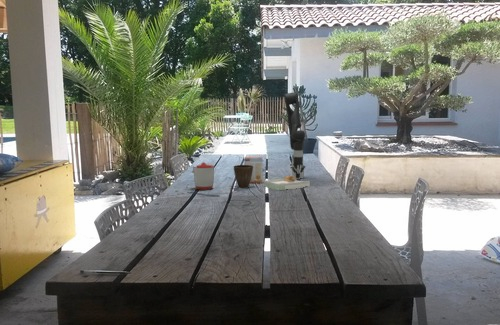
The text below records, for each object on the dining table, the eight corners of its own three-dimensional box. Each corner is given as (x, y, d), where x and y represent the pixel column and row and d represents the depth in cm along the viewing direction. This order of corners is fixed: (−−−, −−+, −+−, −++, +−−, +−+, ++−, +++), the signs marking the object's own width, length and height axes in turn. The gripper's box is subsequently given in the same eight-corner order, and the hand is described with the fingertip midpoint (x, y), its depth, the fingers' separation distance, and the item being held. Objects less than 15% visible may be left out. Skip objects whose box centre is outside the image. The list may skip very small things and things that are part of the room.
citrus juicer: (197, 186, 372) (196, 160, 370) (217, 187, 366) (217, 161, 364) (187, 189, 357) (187, 162, 355) (209, 191, 352) (208, 163, 349)
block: (291, 180, 378) (291, 175, 378) (294, 181, 374) (294, 176, 374) (284, 181, 375) (284, 176, 375) (288, 182, 371) (288, 176, 371)
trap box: (294, 183, 383) (294, 177, 383) (309, 187, 366) (309, 181, 366) (264, 186, 370) (264, 180, 369) (278, 190, 352) (278, 184, 352)
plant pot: (251, 189, 359) (251, 167, 357) (231, 188, 362) (231, 167, 360) (254, 185, 373) (254, 165, 371) (236, 185, 376) (236, 164, 374)
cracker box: (262, 182, 390) (262, 156, 388) (261, 183, 384) (261, 157, 382) (245, 181, 392) (245, 156, 389) (244, 183, 386) (244, 157, 383)
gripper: (302, 155, 383) (302, 176, 385) (288, 156, 376) (288, 178, 378) (307, 156, 376) (307, 178, 378) (293, 156, 370) (293, 179, 372)
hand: (297, 178), depth 378 cm, fingers closed
